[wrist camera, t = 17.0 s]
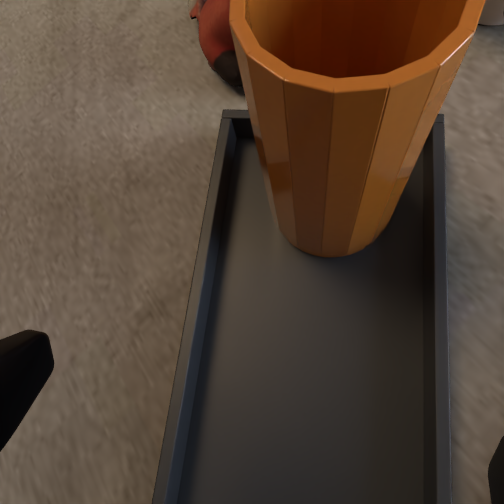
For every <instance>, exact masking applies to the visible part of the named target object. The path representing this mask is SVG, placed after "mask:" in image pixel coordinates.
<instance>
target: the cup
mask: <svg viewBox="0 0 504 504" xmlns="http://www.w3.org/2000/svg"><path fill="white" fill-rule="evenodd" d="M478 23H479V24H483V25H504V0H486V1H485V4H484V7H483V10H482V13H481V16H480V19H479V22H478Z"/></svg>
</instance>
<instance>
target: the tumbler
mask: <svg viewBox="0 0 504 504" xmlns="http://www.w3.org/2000/svg"><path fill="white" fill-rule="evenodd" d="M485 1H486V0H230V8H229V24H230V28H231V33H232V37H233V42H234V47H235V51H236V56H237V60H238V65H239V69H240V74H241V79H242V83H243V88H244V92H245V97H246V101H247V106H248V111H249V115H250V120H251V124H252V129H253V133H254V138H255V143H256V147H257V152H258V156H259V161H260V165H261V170H262V174H263V179H264V184H265V188H266V193H267V197H268V202H269V206H270V211H271V213H272V215H273V219H274V221H275V224H276V226H277V228H278V230H279V231H280V233H281V234H282V235H283V237H284V238H285V239H286V240H287V241H288V242H290V243H291V244H292V245H293V246H295V247H296V248H298V249H300V250H302V251H304V252H306V253H309V254H312V255H315V256H321V257H342V256H347V255H351V254H353V253H356V252H358V251H360V250H362V249H364V248H366V247H367V246H369V245H370V244H372V243H373V242H374V241H375V240H376V239H377V238H378V237H379V236H380V234H381V233H382V232H383V230H384V229H385V228H386V226H387V225H388V223H389V220H390V218H391V216H392V214H393V212H394V209H395V207H396V205H397V203H398V201H399V198H400V196H401V194H402V192H403V190H404V187H405V185H406V183H407V181H408V179H409V176H410V174H411V172H412V170H413V168H414V165H415V163H416V161H417V159H418V157H419V155H420V152H421V150H422V148H423V146H424V144H425V141H426V139H427V137H428V135H429V133H430V130H431V128H432V126H433V124H434V122H435V119H436V117H437V115H438V113H439V111H440V108H441V106H442V104H443V102H444V100H445V97H446V95H447V93H448V91H449V89H450V86H451V84H452V82H453V80H454V78H455V76H456V73H457V71H458V69H459V67H460V65H461V62H462V60H463V58H464V56H465V54H466V51H467V49H468V47H469V45H470V43H471V40H472V38H473V36H474V34H475V31H476V28H477V25H478V22H479V19H480V16H481V13H482V10H483V7H484V4H485Z"/></svg>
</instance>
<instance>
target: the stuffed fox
mask: <svg viewBox="0 0 504 504" xmlns="http://www.w3.org/2000/svg"><path fill="white" fill-rule="evenodd" d="M188 7H189V14H190V18H191V19H194V18H197V19H198V21H199V41H200V46H201V48H202V51H203V53H204V55H205V57H206V58H207V60H208V64H209V66H210V67H211V68H212V69H213V70H214V71H215V70H216V71H217V72H218V73H219V74H220V76H221V77H222V78H223V79H225V80H226V81H227V82H228V83H230V84H231V85H234V86H236V87H237V86H243V83H242V79H241V74H240V69H239V65H238V60H237V56H236V51H235V47H234V42H233V37H232V33H231V28H230V24H229V8H230V0H189V2H188Z"/></svg>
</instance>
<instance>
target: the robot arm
mask: <svg viewBox="0 0 504 504" xmlns="http://www.w3.org/2000/svg"><path fill="white" fill-rule="evenodd" d="M53 368H54V358H53V354H52V349H51V345H50V340H49V337H48V335H47V334H46V333H44V332H39V331H34V330H25V331H22V332H19V333H17V334H14V335H12V336H9V337H6V338H4V339H1V340H0V452H1V450H2V449H3V448H4V446H5V445H6V443H7V442H8V441H9V439H10V438H11V436H12V435H13V433H14V432H15V430H16V429H17V427H18V426H19V424H20V423H21V421H22V420H23V418H24V416H25V415H26V413H27V412H28V410H29V408H30V407H31V405H32V404H33V402H34V401H35V399H36V397H37V396H38V394H39V393H40V391H41V389H42V388H43V386H44V385H45V383H46V381H47V380H48V378H49V377H50V375H51V373H52V371H53ZM488 480H489V487H490V495H491V502H492V504H504V436H503V437H502V439H501V441H500V443H499V445H498V447H497V449H496V451H495V453H494V455H493V457H492V460H491V462H490V464H489V468H488Z"/></svg>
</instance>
